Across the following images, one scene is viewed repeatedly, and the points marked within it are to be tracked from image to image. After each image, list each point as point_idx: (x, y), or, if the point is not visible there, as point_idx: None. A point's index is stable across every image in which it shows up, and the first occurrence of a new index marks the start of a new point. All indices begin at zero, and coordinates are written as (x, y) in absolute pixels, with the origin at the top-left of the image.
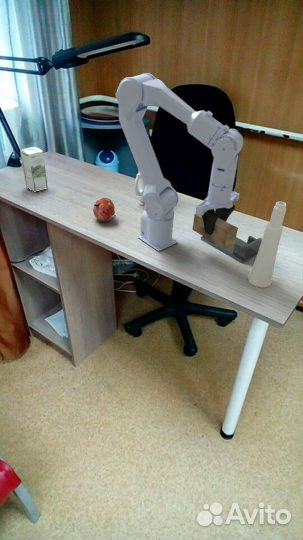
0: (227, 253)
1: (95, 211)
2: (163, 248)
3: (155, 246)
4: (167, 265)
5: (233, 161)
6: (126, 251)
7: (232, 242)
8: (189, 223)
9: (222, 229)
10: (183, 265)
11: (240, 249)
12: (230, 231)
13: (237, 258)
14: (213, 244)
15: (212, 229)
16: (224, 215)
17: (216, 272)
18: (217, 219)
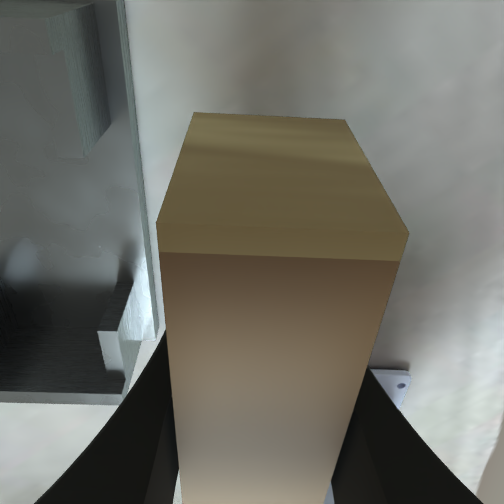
0: (137, 151)
1: None
2: (380, 371)
3: (395, 395)
4: (488, 285)
5: None
6: (489, 424)
7: (239, 129)
8: (104, 420)
9: (374, 327)
10: (437, 240)
11: (80, 78)
12: (367, 232)
13: (125, 56)
14: (148, 262)
15: (367, 377)
16: (154, 494)
17: (373, 62)
18: (216, 457)
